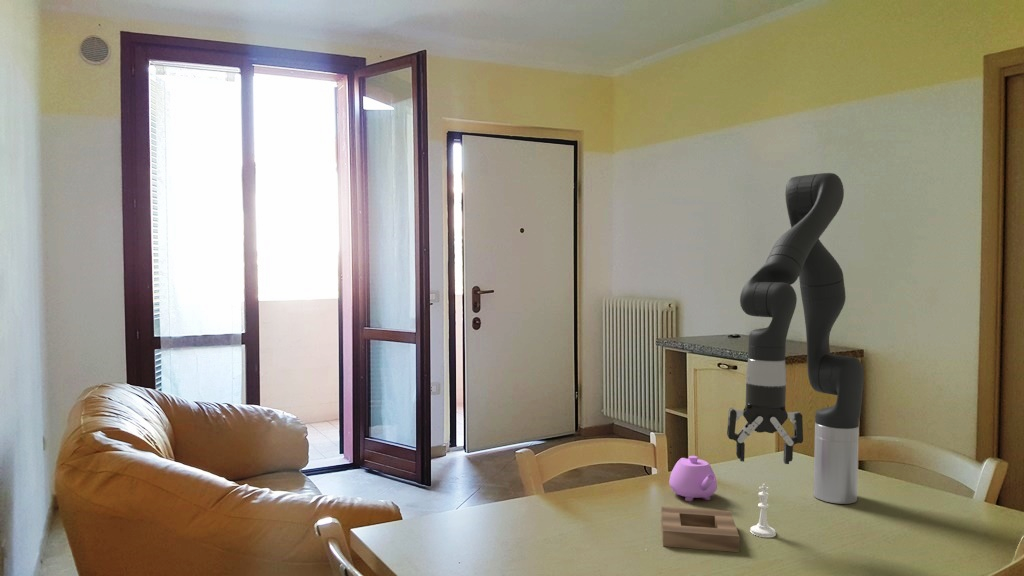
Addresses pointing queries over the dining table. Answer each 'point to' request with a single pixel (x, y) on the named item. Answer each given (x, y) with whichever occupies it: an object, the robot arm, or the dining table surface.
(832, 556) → the dining table surface
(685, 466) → the teapot
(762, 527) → the chess piece
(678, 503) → the dining table surface
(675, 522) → the socket block
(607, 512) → the dining table surface
